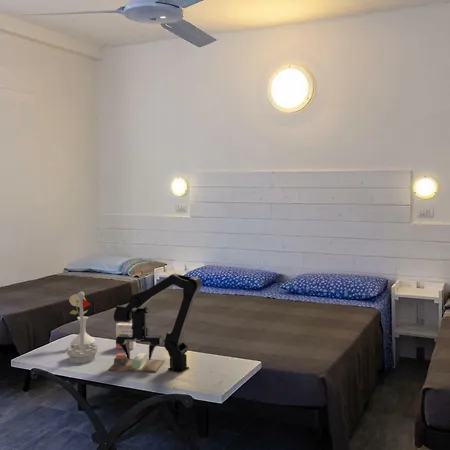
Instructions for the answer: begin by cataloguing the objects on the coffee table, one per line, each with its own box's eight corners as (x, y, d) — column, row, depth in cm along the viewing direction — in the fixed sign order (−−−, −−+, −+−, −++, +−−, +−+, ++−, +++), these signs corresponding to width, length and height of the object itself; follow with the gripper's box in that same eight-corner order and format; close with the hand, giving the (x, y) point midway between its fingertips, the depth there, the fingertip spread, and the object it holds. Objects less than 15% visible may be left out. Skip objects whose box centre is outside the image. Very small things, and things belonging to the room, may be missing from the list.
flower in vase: (99, 343, 273) (98, 292, 272) (87, 350, 263) (86, 296, 261) (76, 341, 277) (75, 291, 276) (63, 347, 267) (61, 295, 265)
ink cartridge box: (115, 349, 264) (115, 318, 263) (118, 346, 269) (118, 315, 268) (133, 349, 263) (133, 318, 262) (136, 346, 268) (135, 316, 267)
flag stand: (60, 361, 245) (59, 292, 244) (81, 353, 257) (79, 288, 255) (83, 365, 239) (82, 295, 238) (103, 357, 251) (102, 290, 249)
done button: (125, 359, 239) (125, 353, 239) (123, 361, 236) (123, 355, 236) (118, 358, 240) (118, 353, 240) (116, 360, 237) (116, 355, 237)
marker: (139, 360, 243) (139, 352, 243) (146, 360, 242) (146, 353, 242) (132, 368, 232) (132, 360, 232) (139, 368, 231) (139, 360, 231)
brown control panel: (164, 361, 244) (164, 353, 243) (156, 372, 229) (155, 364, 228) (119, 360, 246) (119, 352, 246) (108, 370, 231) (108, 362, 231)
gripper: (165, 319, 243) (165, 354, 244) (123, 318, 245) (123, 353, 246) (158, 325, 232) (159, 362, 233) (115, 324, 234) (115, 361, 235)
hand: (139, 359), depth 237 cm, fingers open, 9 cm apart
